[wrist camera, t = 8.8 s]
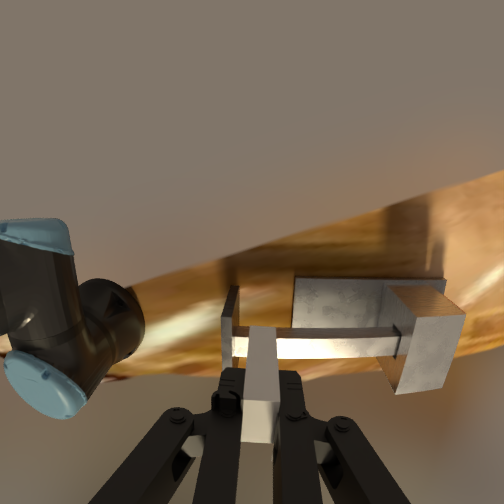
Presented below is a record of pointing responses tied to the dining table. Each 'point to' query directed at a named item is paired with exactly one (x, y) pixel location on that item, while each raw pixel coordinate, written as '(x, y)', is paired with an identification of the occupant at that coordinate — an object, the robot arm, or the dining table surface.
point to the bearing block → (388, 321)
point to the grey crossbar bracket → (305, 339)
